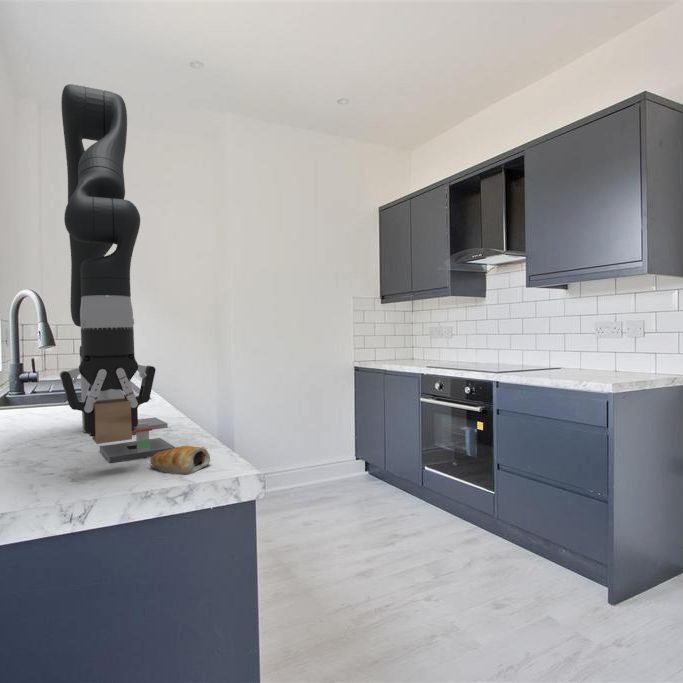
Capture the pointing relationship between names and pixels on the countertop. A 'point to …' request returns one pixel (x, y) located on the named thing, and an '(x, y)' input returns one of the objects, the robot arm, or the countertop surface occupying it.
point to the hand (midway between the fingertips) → (111, 432)
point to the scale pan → (151, 424)
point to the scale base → (135, 447)
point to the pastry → (181, 460)
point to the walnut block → (112, 420)
